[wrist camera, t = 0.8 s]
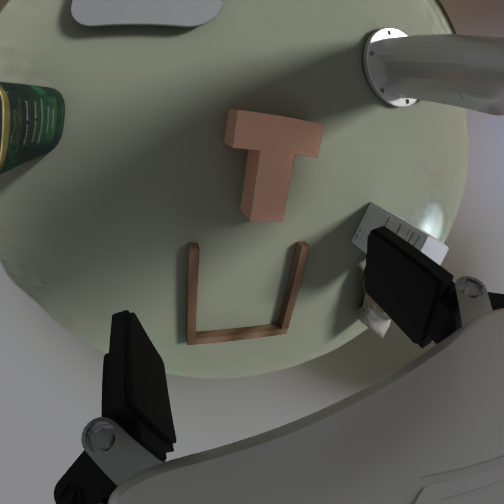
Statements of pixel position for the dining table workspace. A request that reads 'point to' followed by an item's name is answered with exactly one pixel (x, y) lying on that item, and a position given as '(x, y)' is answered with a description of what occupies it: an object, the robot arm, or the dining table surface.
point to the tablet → (145, 12)
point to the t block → (269, 158)
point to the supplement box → (398, 232)
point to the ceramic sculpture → (373, 314)
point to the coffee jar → (28, 122)
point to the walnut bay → (245, 332)
